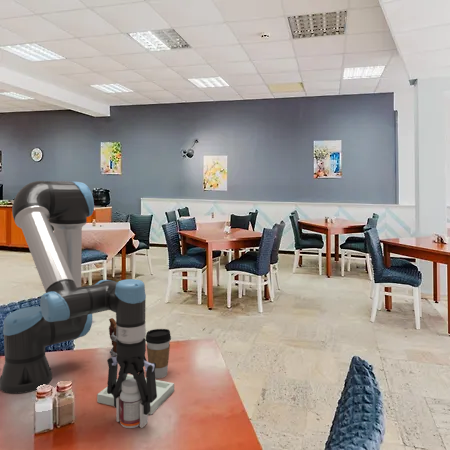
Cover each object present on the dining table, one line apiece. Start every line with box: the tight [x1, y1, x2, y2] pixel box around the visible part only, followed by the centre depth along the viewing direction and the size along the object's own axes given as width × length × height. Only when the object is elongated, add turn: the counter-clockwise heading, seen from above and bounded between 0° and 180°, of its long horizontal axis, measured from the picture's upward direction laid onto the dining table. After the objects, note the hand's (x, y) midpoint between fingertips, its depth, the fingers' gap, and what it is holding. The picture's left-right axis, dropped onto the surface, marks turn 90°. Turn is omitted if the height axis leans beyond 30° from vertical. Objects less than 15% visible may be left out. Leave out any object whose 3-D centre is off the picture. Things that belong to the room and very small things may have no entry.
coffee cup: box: [145, 328, 172, 379], centre depth 135 cm, size 8×8×15 cm
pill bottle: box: [119, 378, 142, 429], centre depth 108 cm, size 6×6×11 cm
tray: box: [96, 374, 175, 415], centre depth 121 cm, size 18×14×2 cm
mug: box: [108, 317, 117, 357], centre depth 150 cm, size 12×14×15 cm
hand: (132, 421), depth 108 cm, fingers open, 7 cm apart
